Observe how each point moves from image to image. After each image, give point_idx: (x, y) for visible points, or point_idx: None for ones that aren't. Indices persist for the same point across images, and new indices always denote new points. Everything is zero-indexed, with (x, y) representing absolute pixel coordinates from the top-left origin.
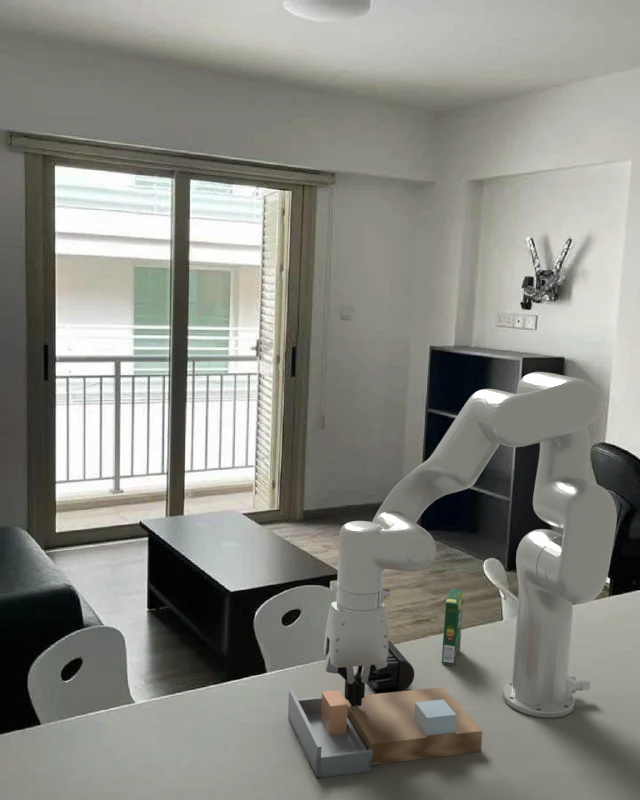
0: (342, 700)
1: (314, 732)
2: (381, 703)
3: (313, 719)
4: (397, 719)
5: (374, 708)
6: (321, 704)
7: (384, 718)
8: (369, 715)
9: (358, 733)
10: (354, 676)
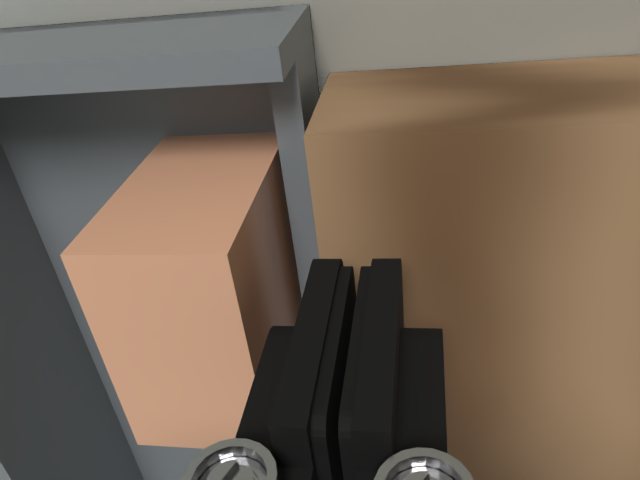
0: (236, 404)
1: None
2: (628, 288)
3: (114, 127)
4: (622, 475)
5: (526, 341)
6: (116, 191)
7: (537, 449)
8: (447, 403)
9: None
10: (352, 450)
